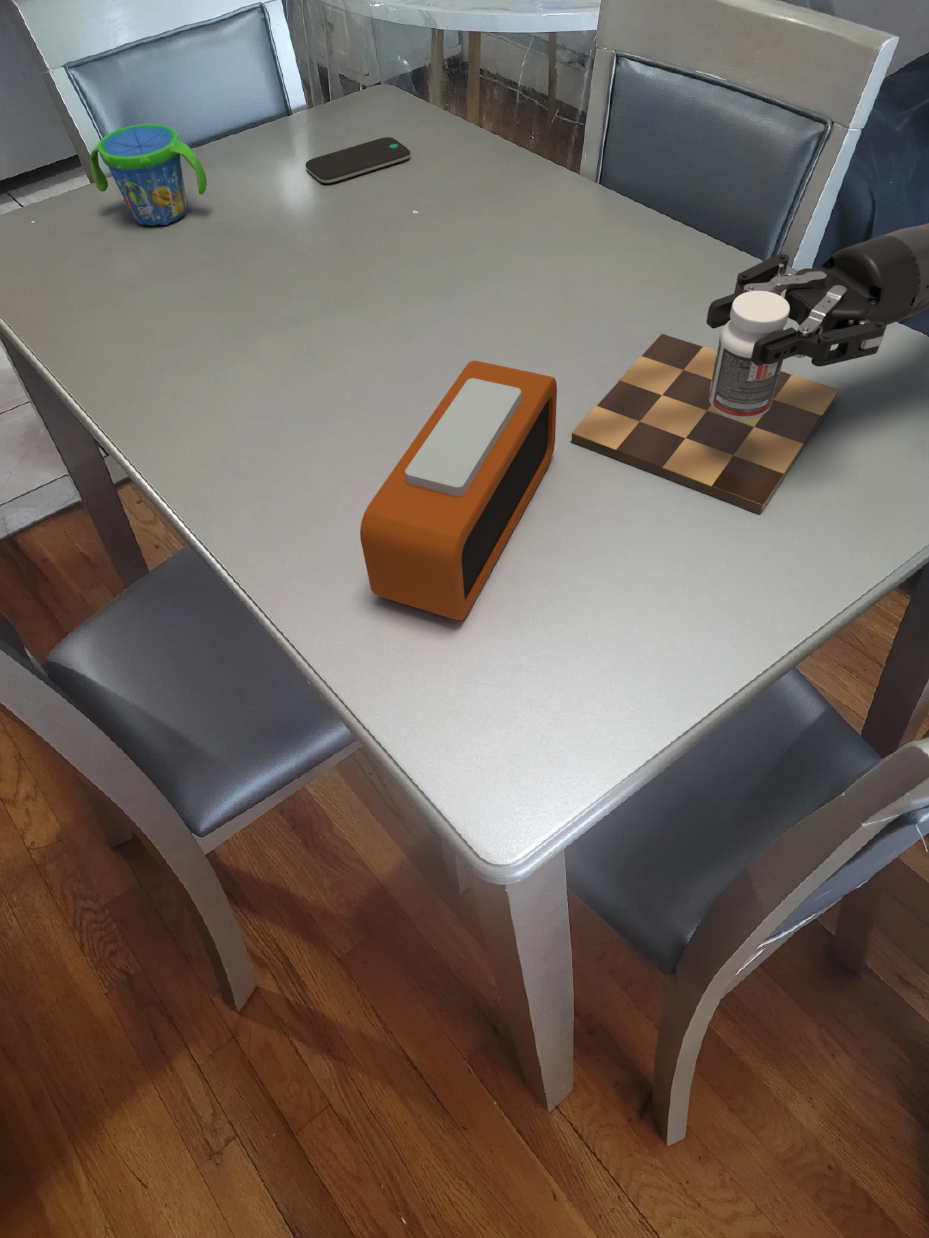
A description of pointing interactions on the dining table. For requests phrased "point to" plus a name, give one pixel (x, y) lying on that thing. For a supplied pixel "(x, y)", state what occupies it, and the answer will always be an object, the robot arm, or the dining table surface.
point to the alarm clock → (460, 489)
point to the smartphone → (357, 160)
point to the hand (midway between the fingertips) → (732, 335)
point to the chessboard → (702, 426)
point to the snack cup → (147, 171)
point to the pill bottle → (747, 357)
